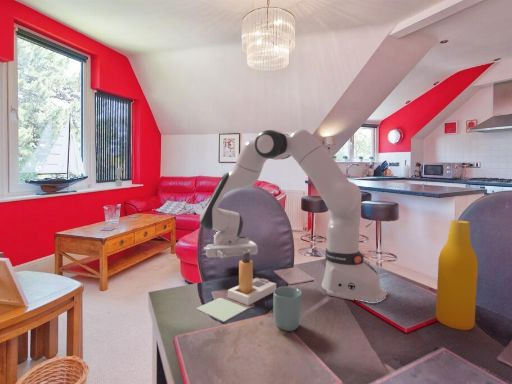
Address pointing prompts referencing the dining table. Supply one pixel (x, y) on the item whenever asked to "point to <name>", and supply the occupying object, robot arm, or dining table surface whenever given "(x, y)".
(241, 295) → the white bottle holder
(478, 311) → the dining table surface
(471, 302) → the beer bottle
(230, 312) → the mat
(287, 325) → the cup
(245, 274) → the orange capped bottle
